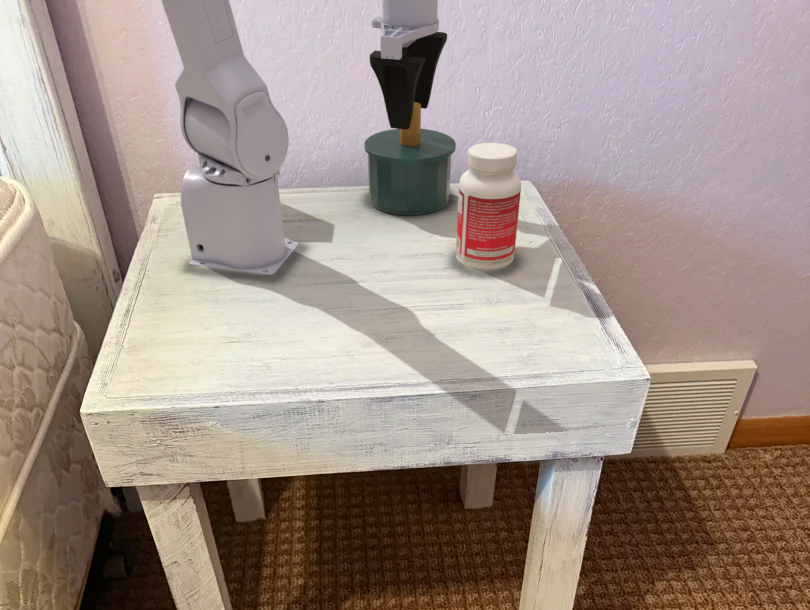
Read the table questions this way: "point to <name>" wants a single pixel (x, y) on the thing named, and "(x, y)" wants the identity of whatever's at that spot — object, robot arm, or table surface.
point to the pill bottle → (488, 207)
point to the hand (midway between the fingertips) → (409, 117)
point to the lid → (410, 143)
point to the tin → (409, 186)
